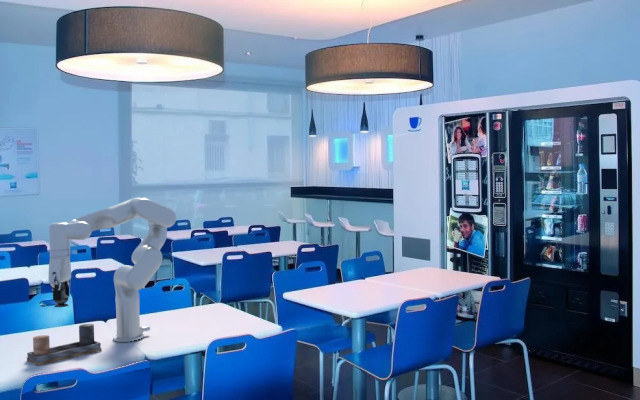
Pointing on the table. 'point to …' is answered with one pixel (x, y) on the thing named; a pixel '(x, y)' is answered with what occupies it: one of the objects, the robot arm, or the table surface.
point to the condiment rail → (63, 347)
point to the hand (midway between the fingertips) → (61, 298)
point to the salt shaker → (62, 297)
